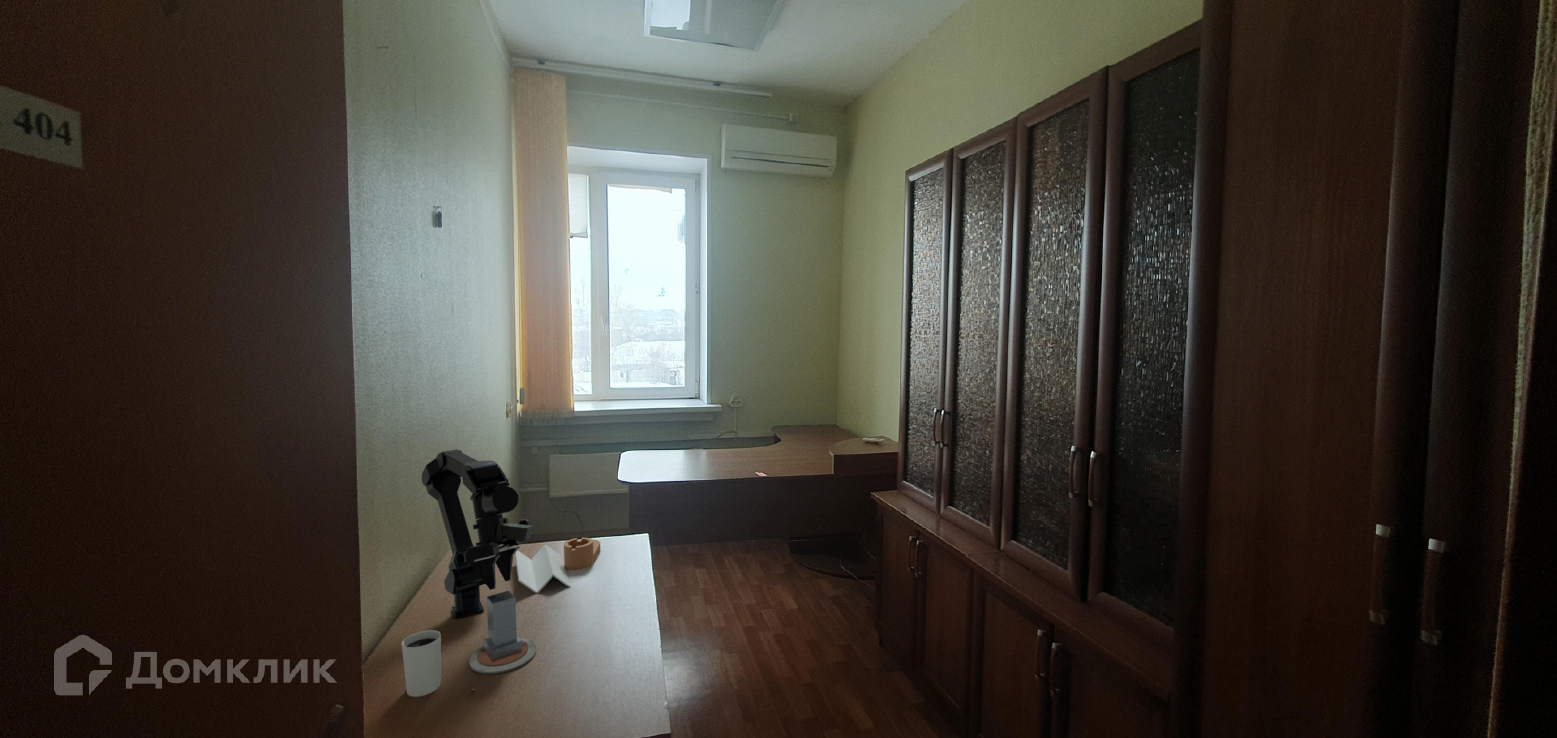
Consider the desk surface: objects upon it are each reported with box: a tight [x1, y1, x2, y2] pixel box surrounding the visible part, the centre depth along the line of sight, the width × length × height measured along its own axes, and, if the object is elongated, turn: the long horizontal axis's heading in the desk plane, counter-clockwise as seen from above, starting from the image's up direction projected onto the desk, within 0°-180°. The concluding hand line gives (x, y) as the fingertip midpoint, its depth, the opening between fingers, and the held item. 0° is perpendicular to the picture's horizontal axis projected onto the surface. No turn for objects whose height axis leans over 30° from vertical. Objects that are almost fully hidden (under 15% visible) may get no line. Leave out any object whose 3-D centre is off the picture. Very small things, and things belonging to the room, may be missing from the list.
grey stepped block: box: [483, 590, 522, 662], centre depth 129 cm, size 6×6×12 cm
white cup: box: [401, 629, 442, 698], centre depth 118 cm, size 7×7×10 cm
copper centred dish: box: [468, 637, 537, 675], centre depth 130 cm, size 13×13×1 cm
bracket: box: [563, 537, 601, 571], centre depth 184 cm, size 18×8×7 cm, turn 5°
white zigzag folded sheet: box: [514, 544, 572, 594], centre depth 173 cm, size 12×25×6 cm
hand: (500, 584), depth 137 cm, fingers open, 9 cm apart
